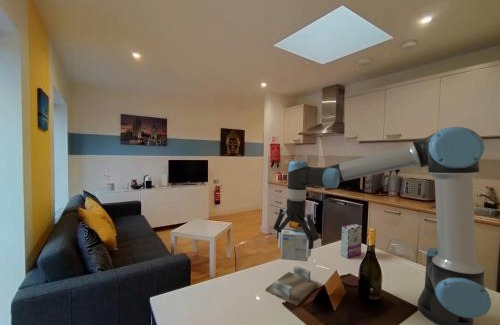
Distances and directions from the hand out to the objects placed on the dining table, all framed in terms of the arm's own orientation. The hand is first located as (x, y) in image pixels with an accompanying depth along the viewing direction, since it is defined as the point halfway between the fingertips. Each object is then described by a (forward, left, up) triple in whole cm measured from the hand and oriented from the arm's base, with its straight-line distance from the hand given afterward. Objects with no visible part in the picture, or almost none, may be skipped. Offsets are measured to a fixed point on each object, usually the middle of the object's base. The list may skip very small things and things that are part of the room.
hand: (293, 251), depth 96 cm
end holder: (0, 0, -15) cm, 15 cm away
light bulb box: (0, 0, -3) cm, 3 cm away
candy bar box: (-8, -51, -16) cm, 54 cm away
